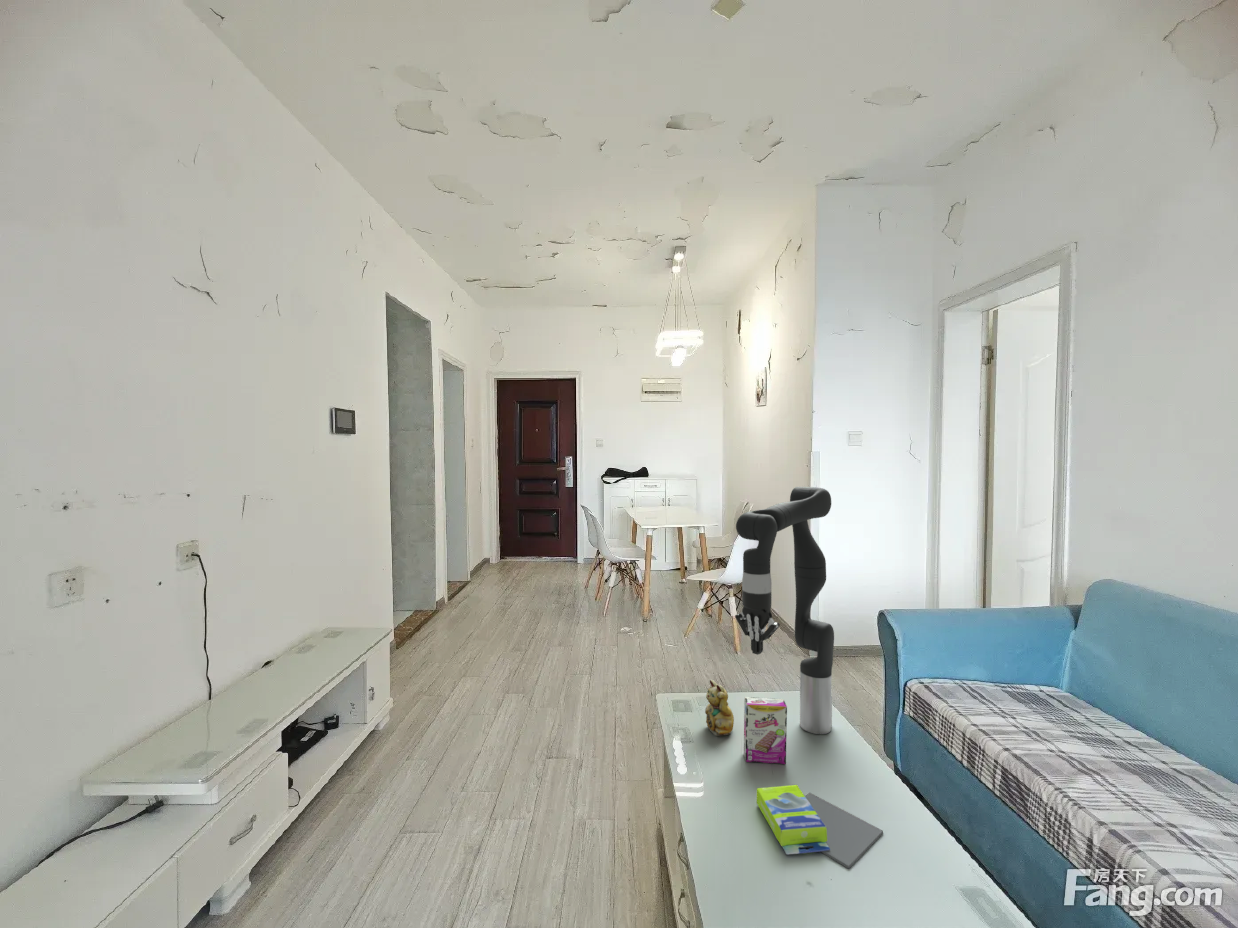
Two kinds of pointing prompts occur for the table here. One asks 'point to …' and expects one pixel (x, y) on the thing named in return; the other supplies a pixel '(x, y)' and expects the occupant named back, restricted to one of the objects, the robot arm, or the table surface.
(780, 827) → the box
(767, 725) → the candy bar box
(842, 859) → the mat
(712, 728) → the decorative figurine
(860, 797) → the table surface
